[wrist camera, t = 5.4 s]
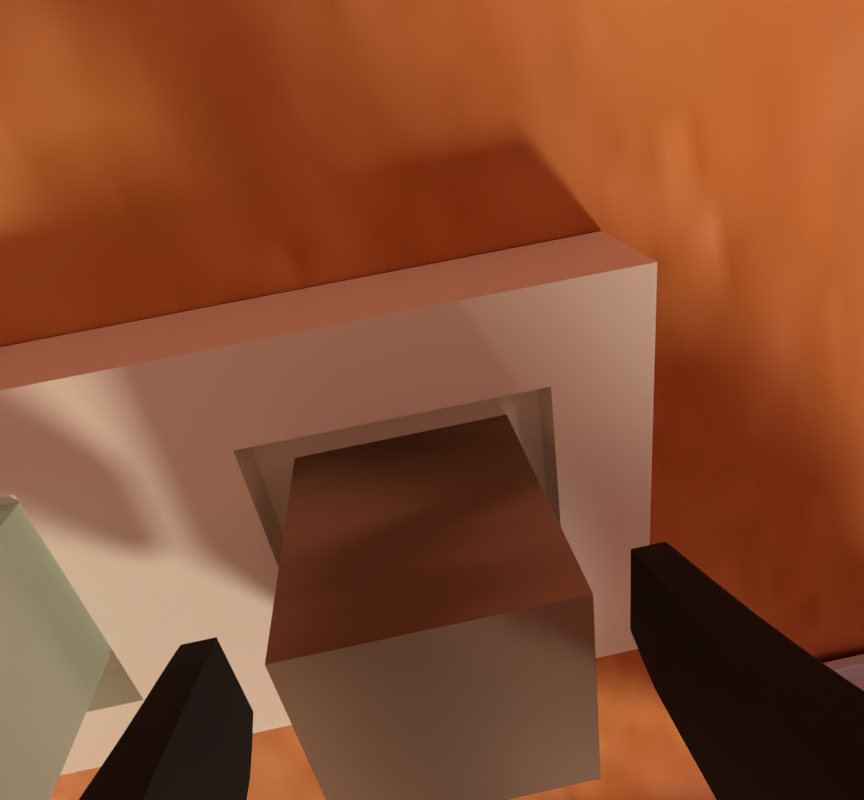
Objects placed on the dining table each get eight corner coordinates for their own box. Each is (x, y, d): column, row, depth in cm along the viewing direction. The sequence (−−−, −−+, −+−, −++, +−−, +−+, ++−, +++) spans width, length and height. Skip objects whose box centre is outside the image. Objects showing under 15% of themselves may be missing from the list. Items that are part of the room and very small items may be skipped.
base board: (602, 230, 12) (657, 262, 10) (608, 575, 17) (646, 647, 15) (-380, 420, 12) (-550, 497, 9) (-87, 723, 16) (-155, 822, 14)
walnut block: (506, 414, 12) (592, 594, 8) (524, 570, 15) (600, 778, 10) (295, 457, 12) (265, 664, 8) (344, 608, 14) (342, 837, 10)
